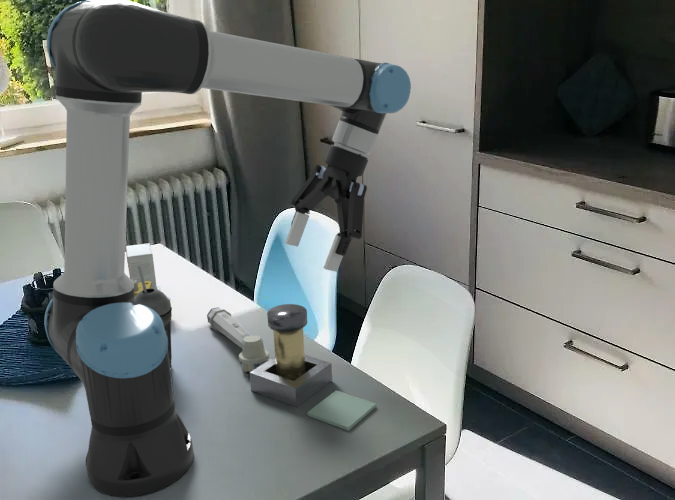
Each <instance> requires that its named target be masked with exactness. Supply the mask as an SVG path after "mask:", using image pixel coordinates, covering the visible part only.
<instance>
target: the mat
mask: <svg viewBox="0 0 675 500" xmlns="http://www.w3.org/2000/svg"><path fill="white" fill-rule="evenodd" d="M376 407H377V403H375V402H372V401H369V400H367V399H364V398H361V397H357V396H354V395H352V394H348V393H345V392H342V391H340V390H337V389H335V390H334V392H332V393H330V394H329V395H328V396H327V397H325V398H324V399H323V400H321V401H319V403H317V404H316V405H315V406H314V407H312V408H311V409H310V410H308V411H307V414H306V415H307V416H308V417H310V418H312V419H315V420H318V421H321V422H323V423H326V424H330V425H332V426H335V427H336V428H337V427H338V428H340V429H342V430H345V431H350V430H351V429H352V428H353V427H355V426H356V425H357V424H358V423H359V422H361V421H362V420H363V419H364V418H365V417H366V416H367V415H368V414H370V413H371V412H372V411H374V410H375V409H376Z"/></svg>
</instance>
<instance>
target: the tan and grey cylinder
mask: <svg viewBox="0 0 675 500" xmlns="http://www.w3.org/2000/svg"><path fill="white" fill-rule="evenodd" d="M266 316H267V326H268V328H269V329H270V330H272V331H273V344H274V346H273V347H274V355H275V356H274V357H275V359H276V372H277V376H280V377H283V378H286V379H289V380H292V381H295V380H296V379H298V378H299V377H300V376H302V375H303V374H305V373H306V369H305V355H306V354H305V353H306V352H305V340H304V339H305V338H304V337H305V336H304V327H306V326H307V324H308V310H307V308H306V307H305V306H303V305H299V304H295V303H286V304H280V305H276V306H273V307H272V308H269V310H268V311H267V313H266Z"/></svg>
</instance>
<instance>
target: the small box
mask: <svg viewBox="0 0 675 500" xmlns="http://www.w3.org/2000/svg"><path fill="white" fill-rule="evenodd" d="M152 251H153V250H152V247H151V243H150V242H149V243H142V244H133V245H125V255H126V259H127V268H128V276H129V278H130V279H131V280H136V281H137V283H140V282H141V278H140V274H139V270H138V266H141V270H142V274H143V278H144V281H152V287H151V289H157V290H158V288H157V286H158V285H157V280H156V271H155V264H154V256H153V252H152Z"/></svg>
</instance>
